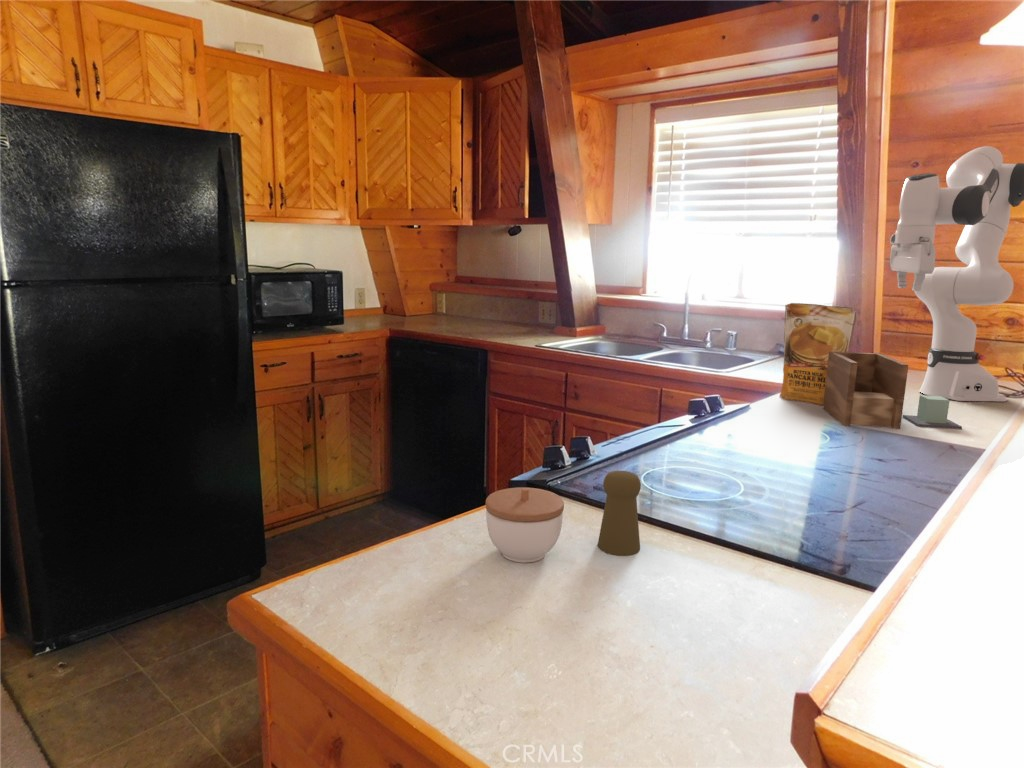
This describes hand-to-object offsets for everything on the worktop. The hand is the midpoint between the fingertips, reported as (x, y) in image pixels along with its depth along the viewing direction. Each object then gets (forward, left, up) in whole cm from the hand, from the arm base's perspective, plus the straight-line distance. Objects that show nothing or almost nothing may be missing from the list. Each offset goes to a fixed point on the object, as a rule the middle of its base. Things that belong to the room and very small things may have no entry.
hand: (908, 289), depth 183 cm
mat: (-4, +16, -33) cm, 37 cm away
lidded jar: (+86, +114, -33) cm, 147 cm away
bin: (+13, +15, -33) cm, 39 cm away
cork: (+73, +109, -33) cm, 135 cm away
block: (-4, +16, -32) cm, 36 cm away
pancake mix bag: (+21, -4, -33) cm, 40 cm away
